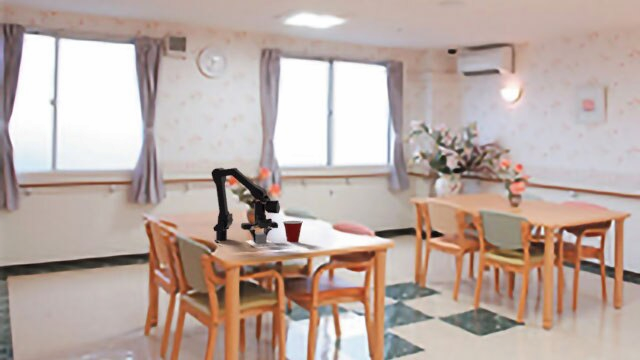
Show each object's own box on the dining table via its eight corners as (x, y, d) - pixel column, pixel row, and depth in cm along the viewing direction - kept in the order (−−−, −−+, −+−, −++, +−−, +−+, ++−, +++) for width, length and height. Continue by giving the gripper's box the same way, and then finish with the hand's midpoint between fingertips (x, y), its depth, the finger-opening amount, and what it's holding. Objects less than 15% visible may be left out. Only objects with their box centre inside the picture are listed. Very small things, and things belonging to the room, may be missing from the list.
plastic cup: (297, 240, 322) (297, 218, 321) (306, 244, 313) (306, 221, 312) (279, 241, 317) (279, 219, 316) (287, 245, 308) (288, 223, 306)
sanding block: (252, 241, 311) (252, 232, 311) (261, 240, 313) (261, 232, 313) (257, 243, 304) (257, 235, 304) (266, 243, 306) (266, 234, 306)
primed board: (245, 242, 312) (245, 240, 312) (266, 241, 317) (266, 239, 317) (256, 250, 294) (256, 248, 294) (279, 249, 299) (279, 246, 299)
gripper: (247, 215, 296) (246, 245, 298) (281, 214, 304) (281, 243, 305) (240, 212, 306) (240, 241, 308) (274, 210, 314) (274, 239, 316)
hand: (259, 241), depth 309 cm, fingers closed on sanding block, 5 cm apart
